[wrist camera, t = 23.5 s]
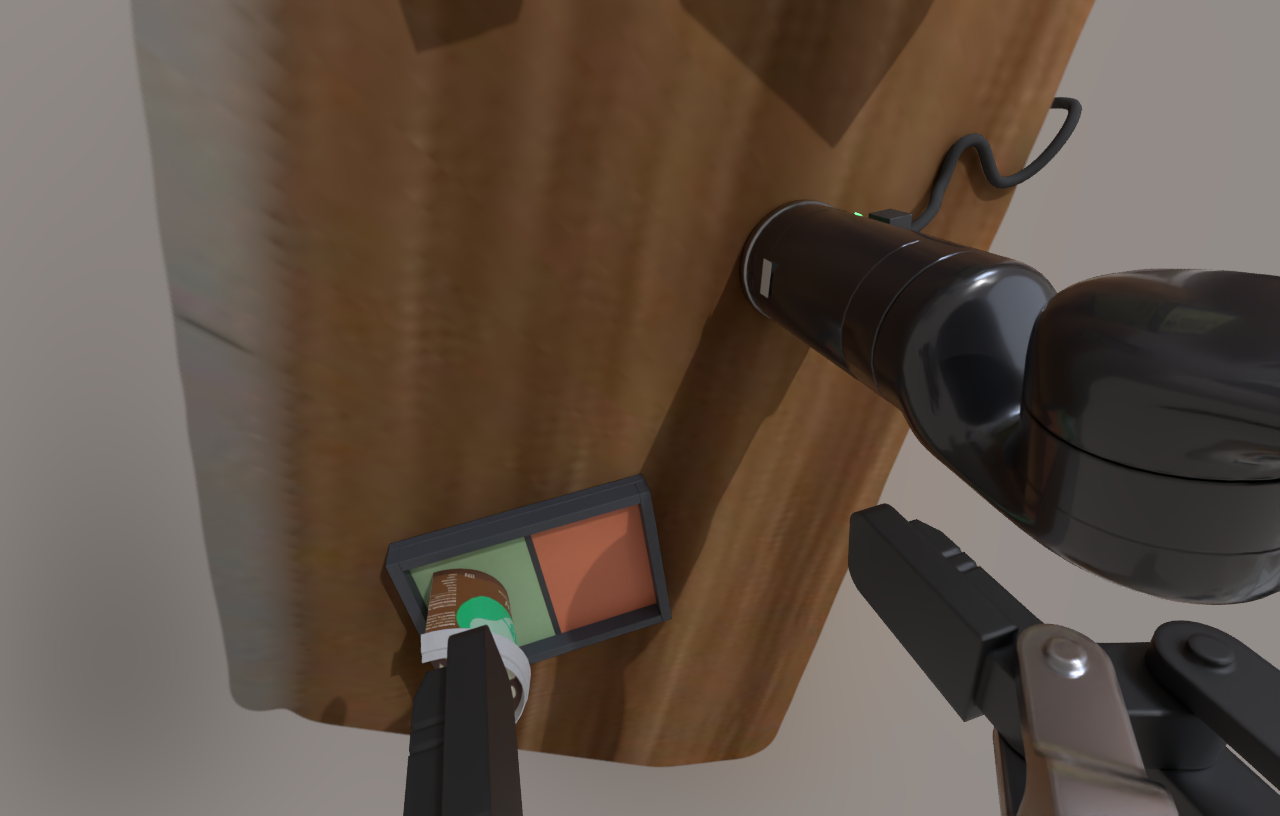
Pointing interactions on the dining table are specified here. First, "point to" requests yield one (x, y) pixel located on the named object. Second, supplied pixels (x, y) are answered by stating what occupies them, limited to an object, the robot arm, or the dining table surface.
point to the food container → (474, 623)
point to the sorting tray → (553, 566)
